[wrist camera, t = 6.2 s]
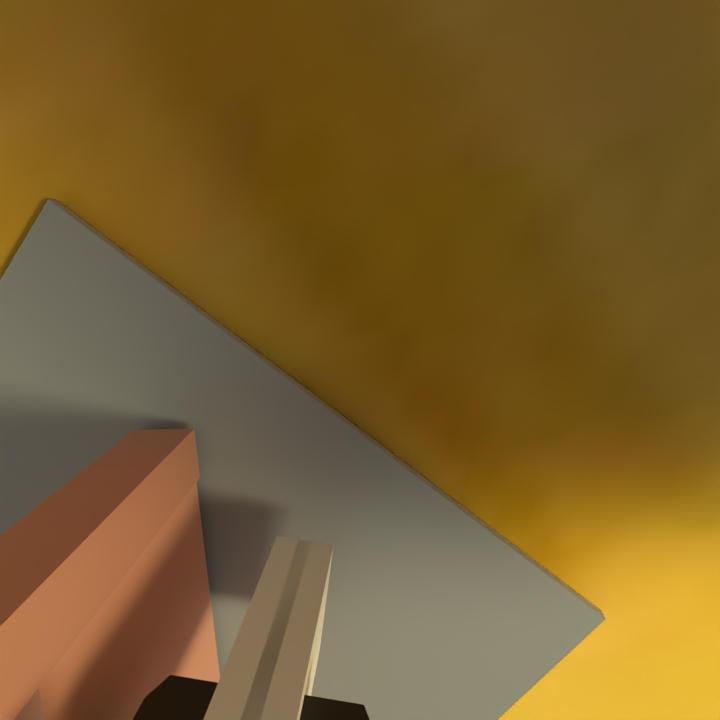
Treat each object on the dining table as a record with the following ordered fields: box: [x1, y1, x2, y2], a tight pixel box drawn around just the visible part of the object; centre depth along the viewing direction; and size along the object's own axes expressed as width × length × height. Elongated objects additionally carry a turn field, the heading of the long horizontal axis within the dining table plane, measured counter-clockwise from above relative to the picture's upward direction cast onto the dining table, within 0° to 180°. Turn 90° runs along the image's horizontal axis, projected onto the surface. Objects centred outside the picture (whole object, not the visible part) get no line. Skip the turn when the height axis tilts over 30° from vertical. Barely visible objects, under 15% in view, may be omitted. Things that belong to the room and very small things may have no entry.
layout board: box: [0, 199, 605, 720], centre depth 15 cm, size 22×16×1 cm
